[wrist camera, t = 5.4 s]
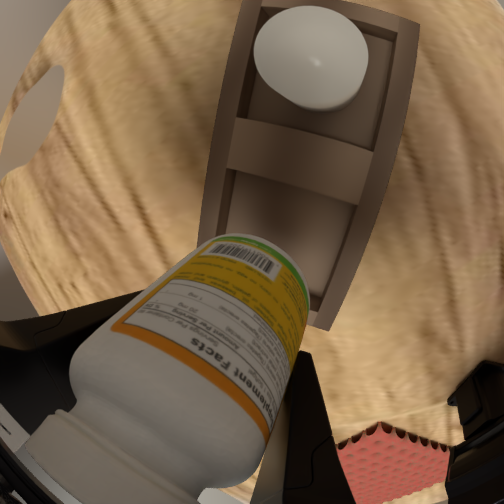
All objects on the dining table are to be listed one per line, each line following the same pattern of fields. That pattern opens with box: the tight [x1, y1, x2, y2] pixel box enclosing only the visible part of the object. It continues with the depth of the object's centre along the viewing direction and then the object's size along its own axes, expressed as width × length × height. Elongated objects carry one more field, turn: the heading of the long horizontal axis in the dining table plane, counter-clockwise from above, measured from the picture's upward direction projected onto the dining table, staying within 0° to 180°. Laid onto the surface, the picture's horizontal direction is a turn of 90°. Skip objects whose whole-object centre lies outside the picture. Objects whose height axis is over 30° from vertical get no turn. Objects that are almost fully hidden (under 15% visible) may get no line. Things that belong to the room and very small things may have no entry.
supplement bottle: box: [25, 233, 310, 504], centre depth 7 cm, size 5×5×10 cm
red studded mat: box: [335, 422, 450, 504], centre depth 29 cm, size 28×28×2 cm
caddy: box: [197, 0, 420, 331], centre depth 15 cm, size 10×20×3 cm, turn 169°
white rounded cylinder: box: [254, 6, 368, 114], centre depth 11 cm, size 5×5×5 cm
